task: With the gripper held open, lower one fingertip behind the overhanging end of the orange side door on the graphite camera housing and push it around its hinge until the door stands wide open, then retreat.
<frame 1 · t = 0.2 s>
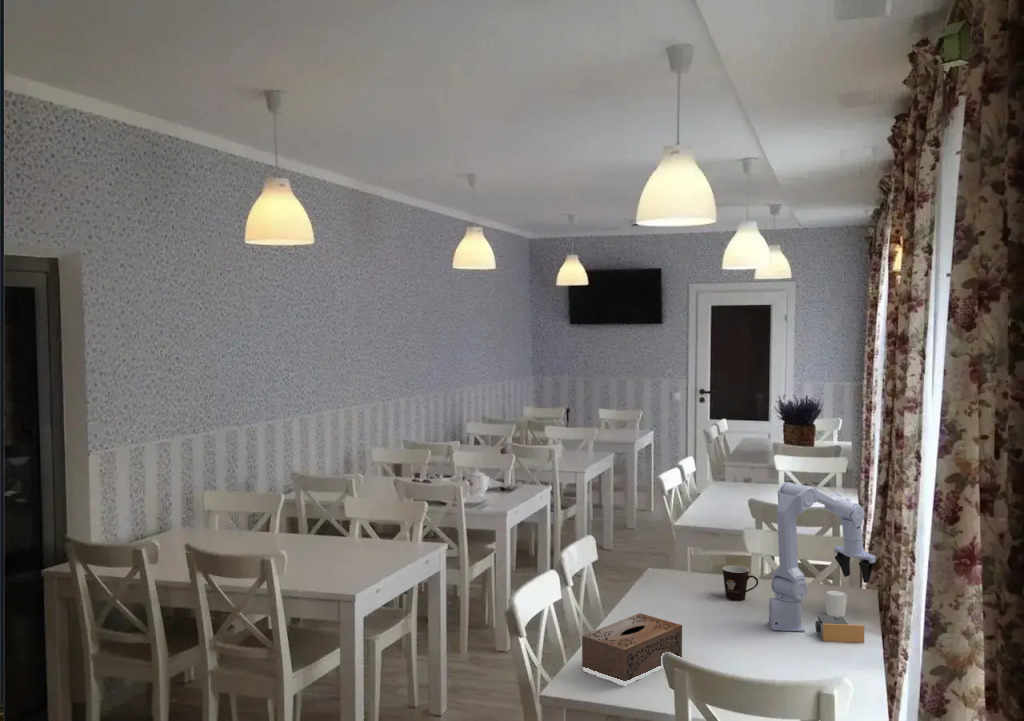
hand: (856, 578, 282), 10 cm above the table, tool pointing down, fingers open, 7 cm apart
side door: (842, 632, 255), point 2 cm above the table, hinge at 0.0°
tissue box cover: (632, 667, 238), on the table
white cup: (835, 615, 279), on the table
coffee mug: (738, 599, 294), on the table
camera housing: (832, 636, 259), on the table
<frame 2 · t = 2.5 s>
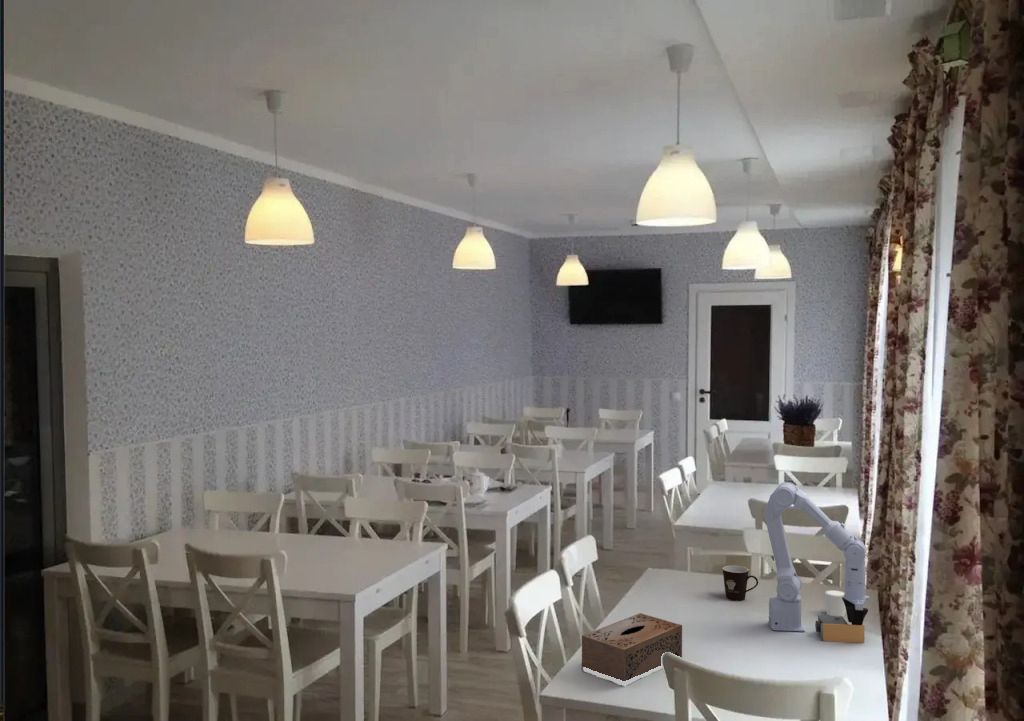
hand: (854, 626, 259), 3 cm above the table, tool pointing down, fingers open, 7 cm apart
side door: (842, 632, 255), point 3 cm above the table, hinge at 0.0°, touching gripper
everything else where it was.
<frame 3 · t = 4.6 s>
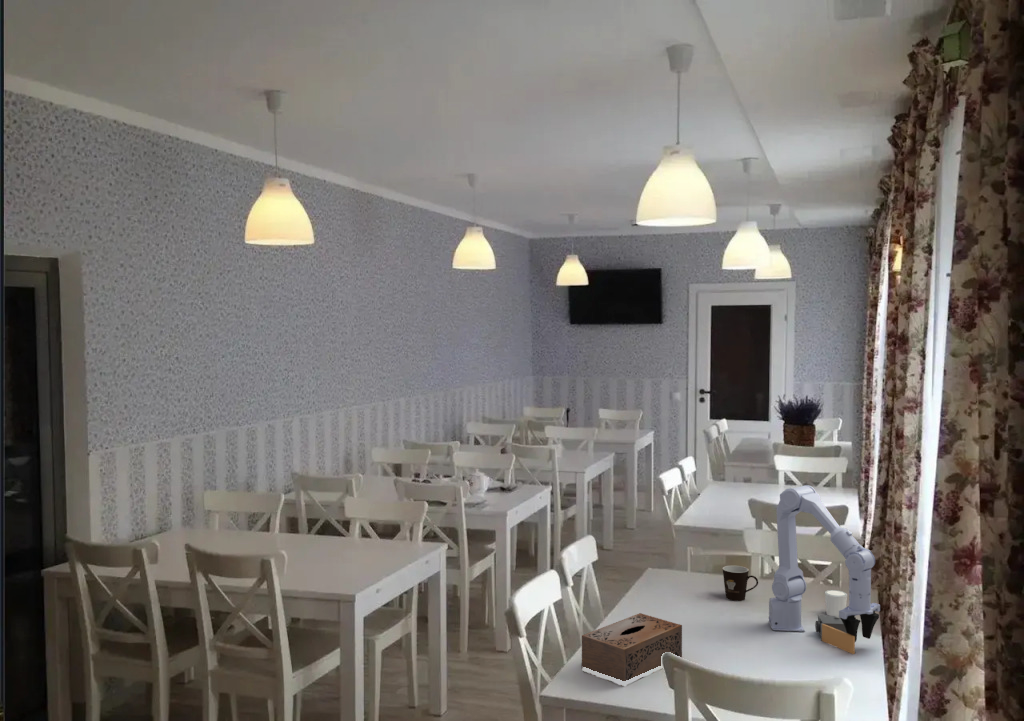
hand: (859, 639, 248), 3 cm above the table, tool pointing down, fingers open, 5 cm apart
side door: (837, 638, 250), point 3 cm above the table, hinge at 56.1°, touching gripper
everything else where it was.
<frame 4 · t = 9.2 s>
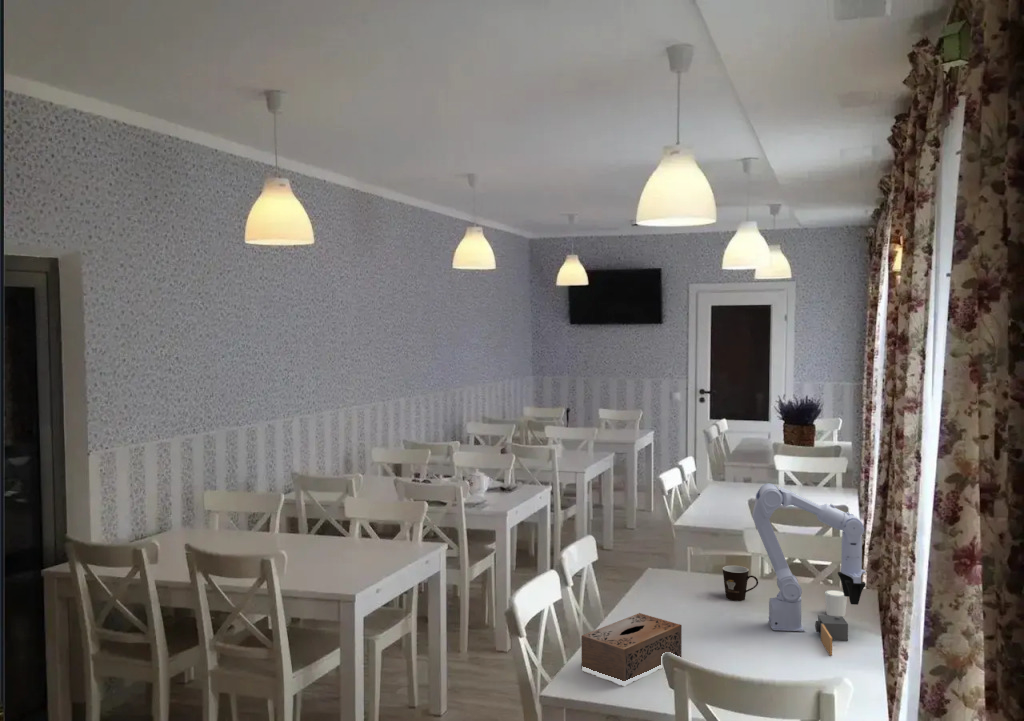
hand: (851, 600, 263), 9 cm above the table, tool pointing down, fingers open, 7 cm apart
side door: (826, 639, 250), point 2 cm above the table, hinge at 90.3°
everything else where it was.
at the end: side door at +90° (first picture: +0°) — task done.
